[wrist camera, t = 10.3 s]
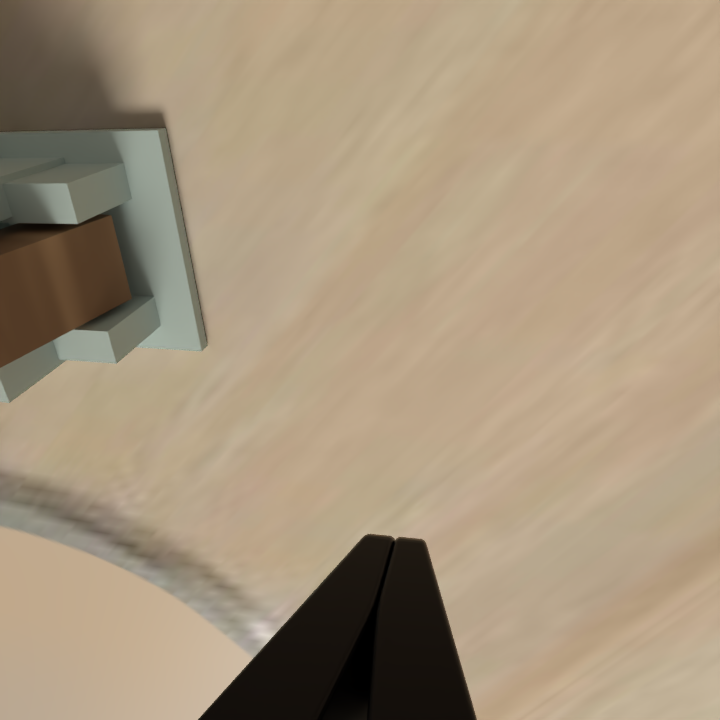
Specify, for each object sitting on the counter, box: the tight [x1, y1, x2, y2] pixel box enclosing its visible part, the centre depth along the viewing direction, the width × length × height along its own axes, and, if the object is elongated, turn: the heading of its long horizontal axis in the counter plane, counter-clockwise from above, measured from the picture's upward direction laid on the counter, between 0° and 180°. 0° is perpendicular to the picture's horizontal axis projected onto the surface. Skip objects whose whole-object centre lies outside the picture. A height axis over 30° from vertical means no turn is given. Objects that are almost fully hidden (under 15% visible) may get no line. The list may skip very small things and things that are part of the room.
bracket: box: [0, 128, 207, 403], centre depth 21 cm, size 10×8×6 cm
